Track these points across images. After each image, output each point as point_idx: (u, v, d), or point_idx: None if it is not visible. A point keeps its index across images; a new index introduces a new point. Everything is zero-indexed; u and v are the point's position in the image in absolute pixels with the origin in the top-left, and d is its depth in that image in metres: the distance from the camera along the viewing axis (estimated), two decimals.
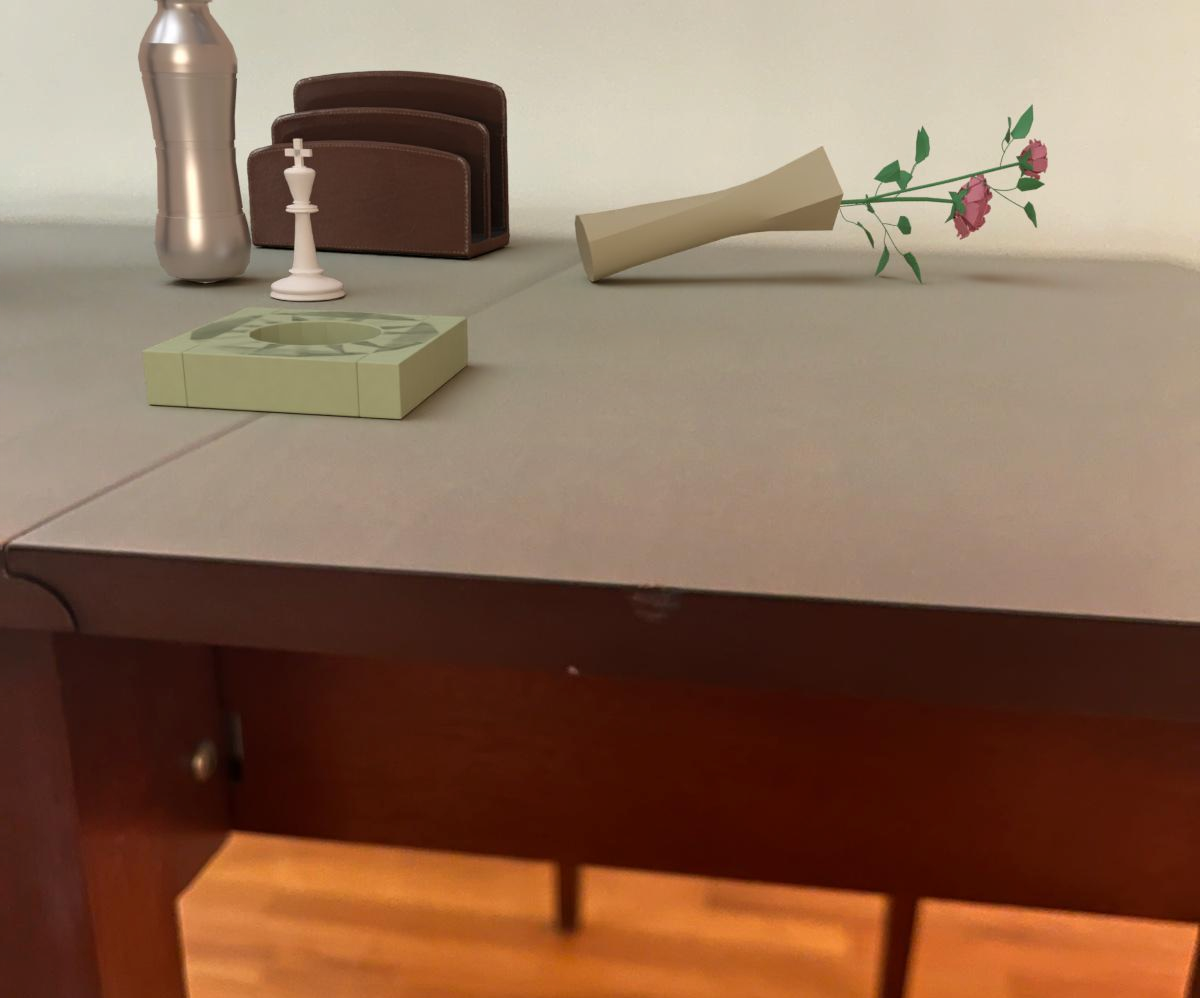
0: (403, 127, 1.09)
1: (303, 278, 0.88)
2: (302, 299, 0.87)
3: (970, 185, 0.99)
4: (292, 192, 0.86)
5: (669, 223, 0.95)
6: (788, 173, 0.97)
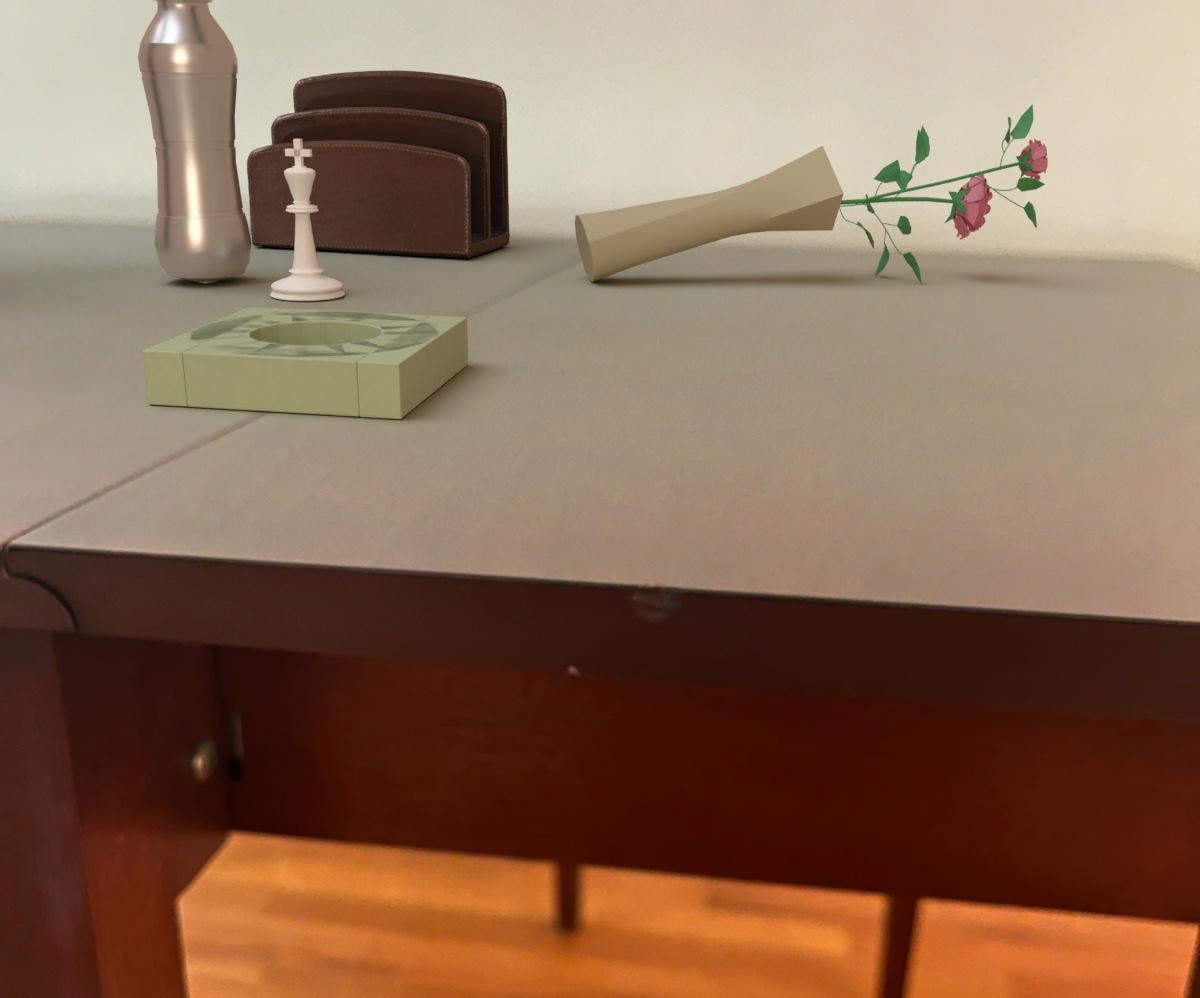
0: (403, 127, 1.09)
1: (303, 278, 0.88)
2: (302, 299, 0.87)
3: (970, 185, 0.99)
4: (292, 192, 0.86)
5: (669, 223, 0.95)
6: (788, 173, 0.97)
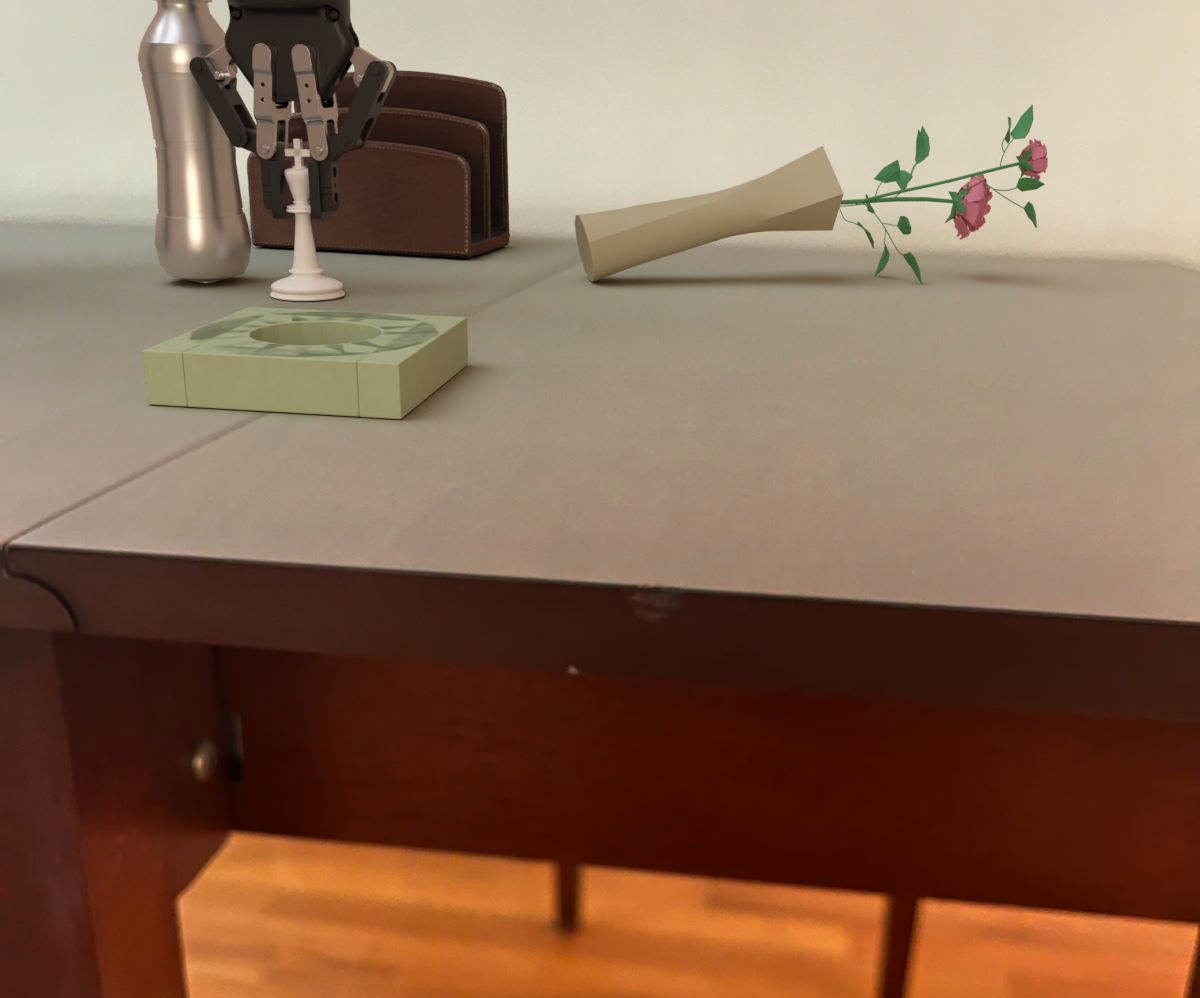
0: (403, 127, 1.09)
1: (303, 278, 0.88)
2: (302, 299, 0.87)
3: (970, 185, 0.99)
4: (292, 192, 0.86)
5: (669, 223, 0.95)
6: (788, 173, 0.97)
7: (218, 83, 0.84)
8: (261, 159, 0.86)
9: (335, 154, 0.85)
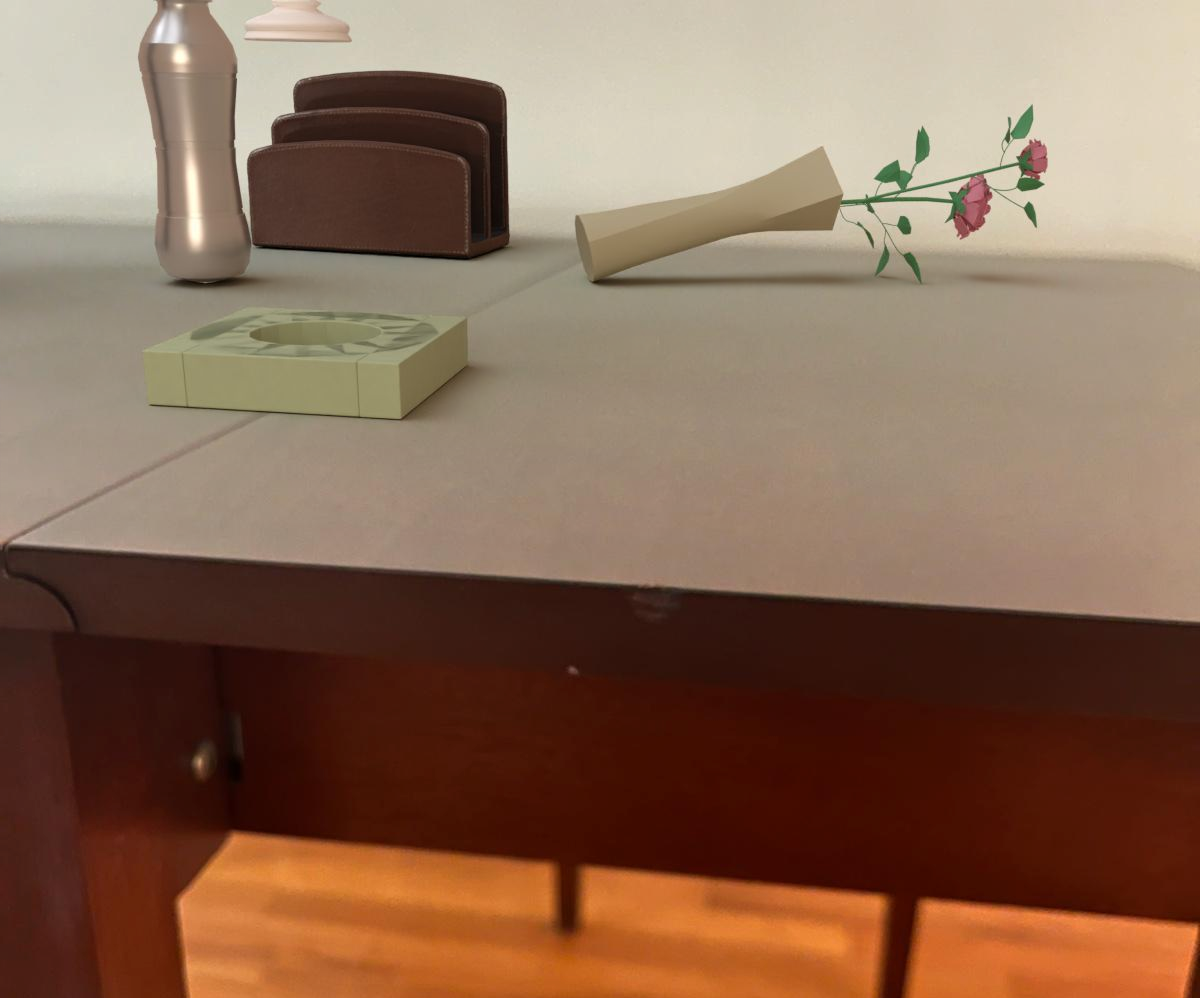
0: (403, 127, 1.09)
1: (292, 10, 0.60)
2: (290, 37, 0.59)
3: (970, 185, 0.99)
4: None
5: (669, 223, 0.95)
6: (788, 173, 0.97)
7: None
8: None
9: None
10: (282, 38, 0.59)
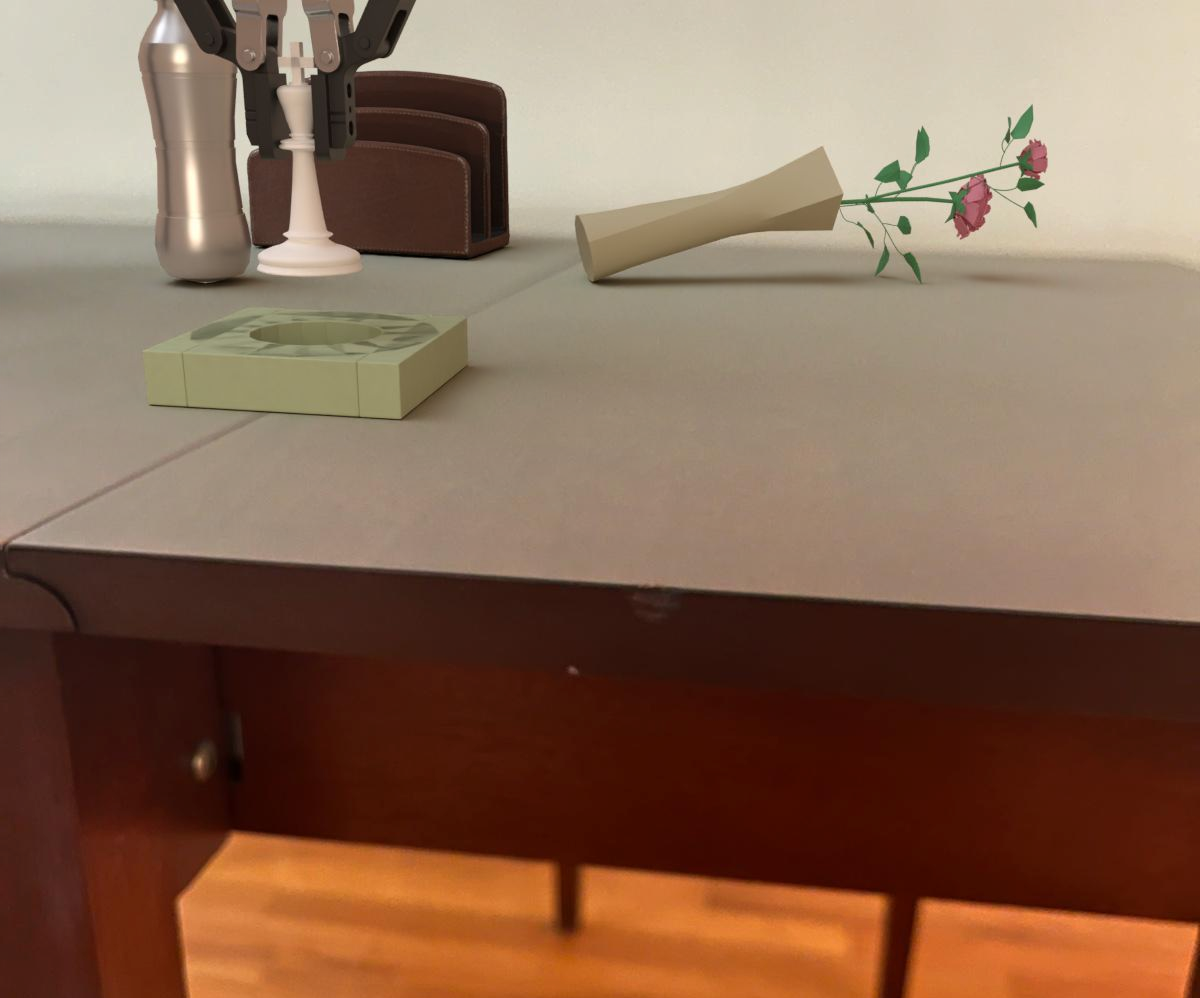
0: (403, 127, 1.09)
1: (304, 245, 0.61)
2: (302, 274, 0.61)
3: (970, 185, 0.99)
4: (288, 120, 0.60)
5: (669, 223, 0.95)
6: (788, 173, 0.97)
7: None
8: (243, 72, 0.59)
9: (350, 63, 0.59)
10: (295, 275, 0.61)
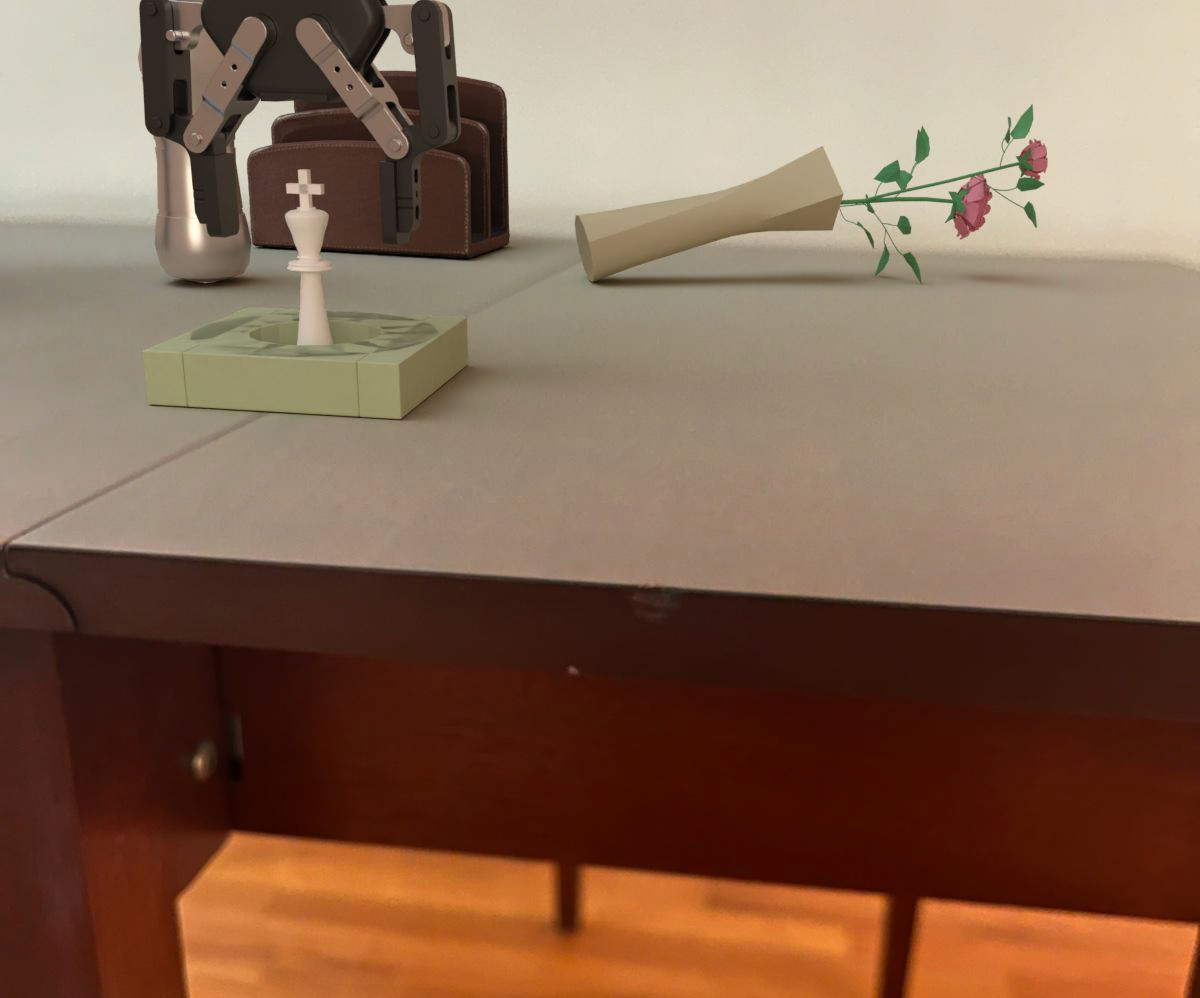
0: None
1: None
2: None
3: (970, 185, 0.99)
4: (296, 243, 0.62)
5: (669, 223, 0.95)
6: (788, 173, 0.97)
7: (167, 45, 0.59)
8: (191, 153, 0.61)
9: (418, 151, 0.59)
10: None
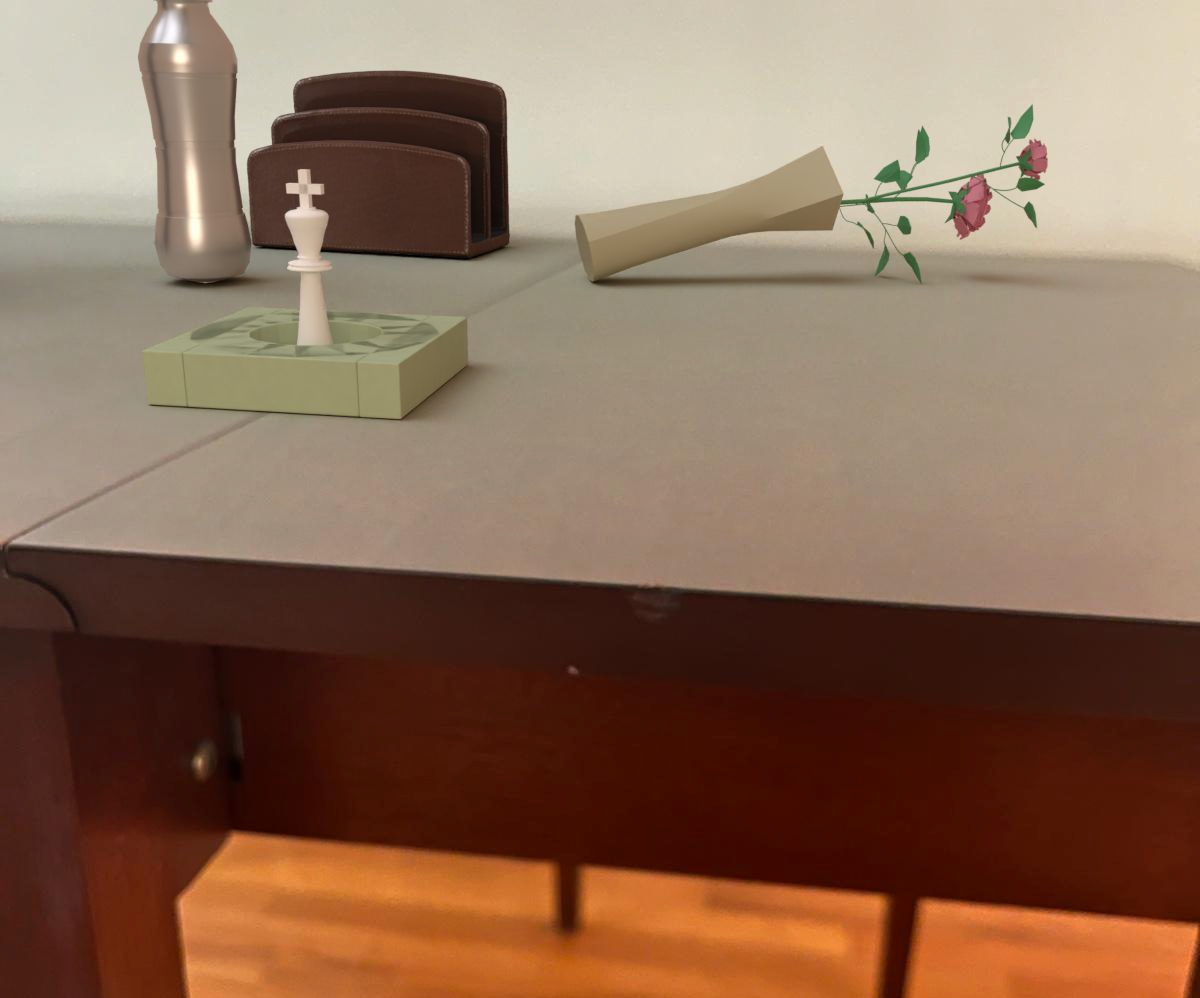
0: (403, 127, 1.09)
1: None
2: None
3: (970, 185, 0.99)
4: (296, 243, 0.62)
5: (669, 223, 0.95)
6: (788, 173, 0.97)
7: None
8: None
9: None
10: None
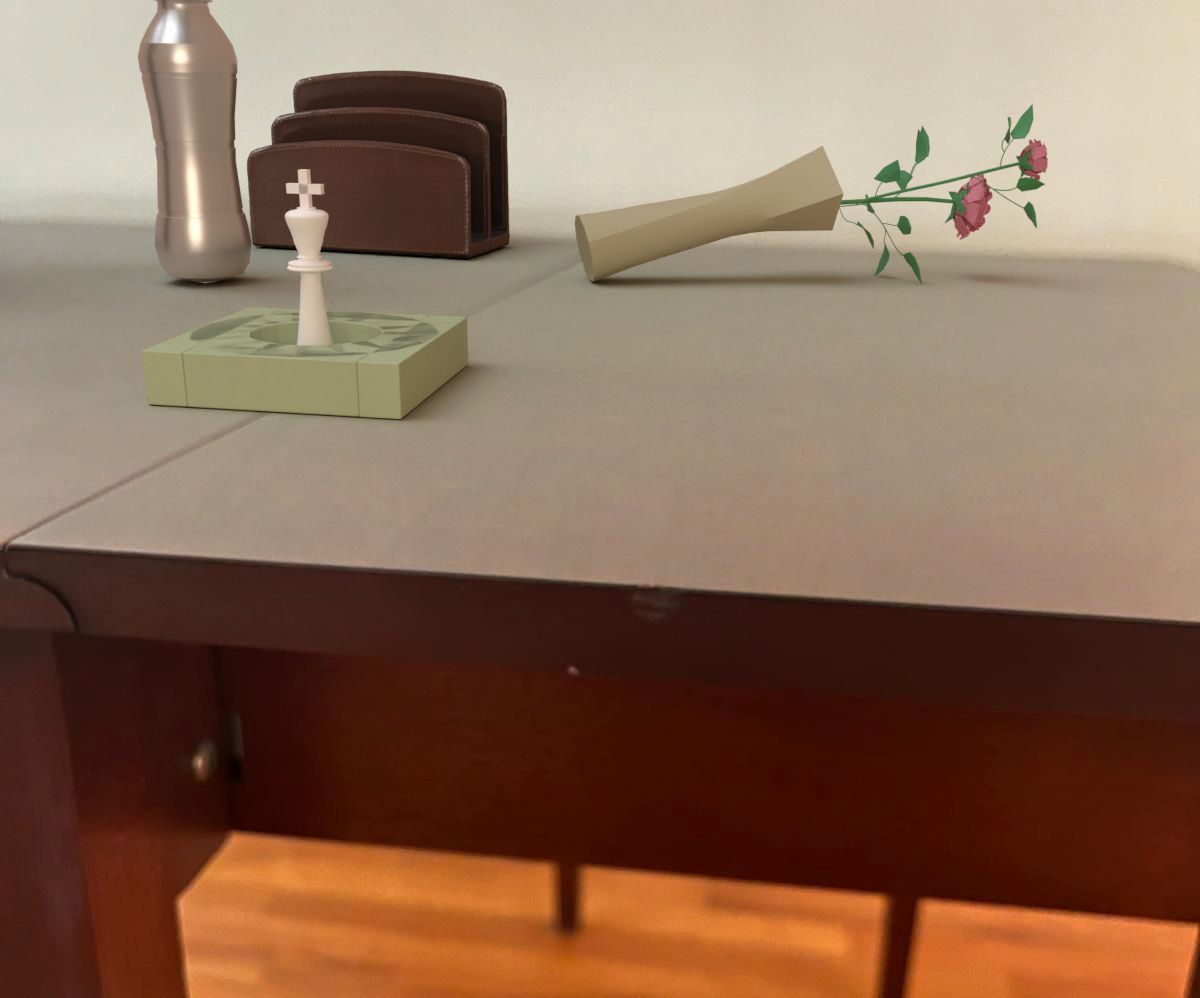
0: (403, 126, 1.09)
1: None
2: None
3: (970, 185, 0.99)
4: (296, 243, 0.62)
5: (669, 223, 0.95)
6: (788, 173, 0.97)
7: None
8: None
9: None
10: None
